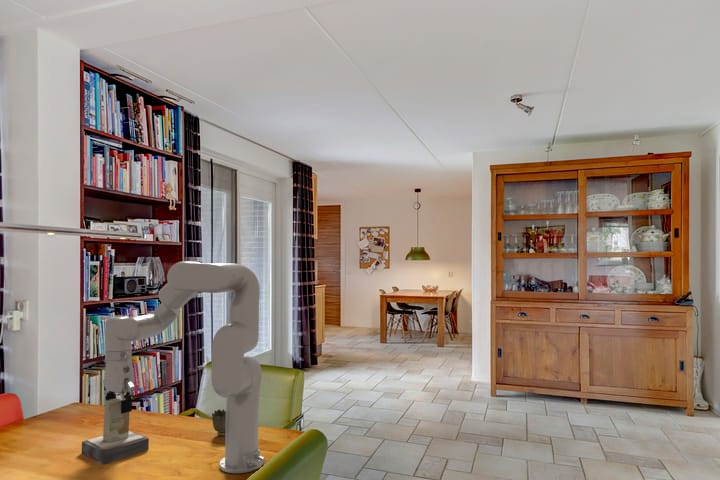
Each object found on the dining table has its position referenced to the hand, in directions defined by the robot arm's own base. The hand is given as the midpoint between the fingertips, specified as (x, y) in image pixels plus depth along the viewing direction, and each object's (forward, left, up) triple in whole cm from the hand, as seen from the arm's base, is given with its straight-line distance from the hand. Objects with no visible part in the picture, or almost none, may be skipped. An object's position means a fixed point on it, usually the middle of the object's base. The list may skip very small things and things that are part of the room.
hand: (118, 409), depth 150 cm
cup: (-15, -29, -13) cm, 35 cm away
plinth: (+1, 0, -13) cm, 13 cm away
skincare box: (+1, 0, -9) cm, 9 cm away
